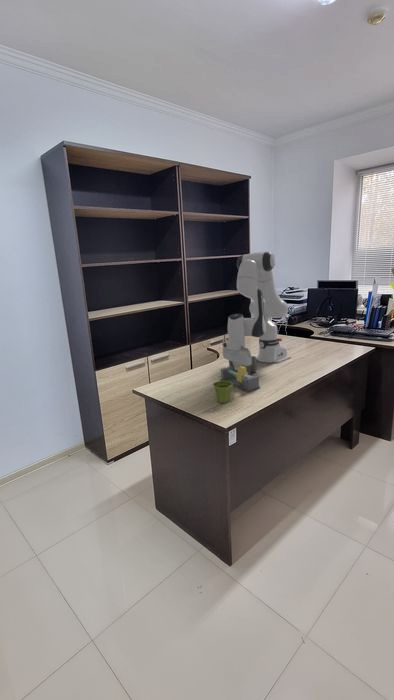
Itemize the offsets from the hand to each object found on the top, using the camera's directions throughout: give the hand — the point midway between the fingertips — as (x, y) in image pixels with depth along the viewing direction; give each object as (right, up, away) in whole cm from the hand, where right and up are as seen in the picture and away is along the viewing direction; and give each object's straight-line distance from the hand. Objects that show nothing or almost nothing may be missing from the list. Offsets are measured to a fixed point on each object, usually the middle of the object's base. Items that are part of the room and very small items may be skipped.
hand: (237, 370), depth 186 cm
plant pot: (-9, -14, -19) cm, 25 cm away
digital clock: (+5, -3, +19) cm, 20 cm away
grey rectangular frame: (+1, -8, +1) cm, 8 cm away
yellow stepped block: (+3, -5, -2) cm, 6 cm away
